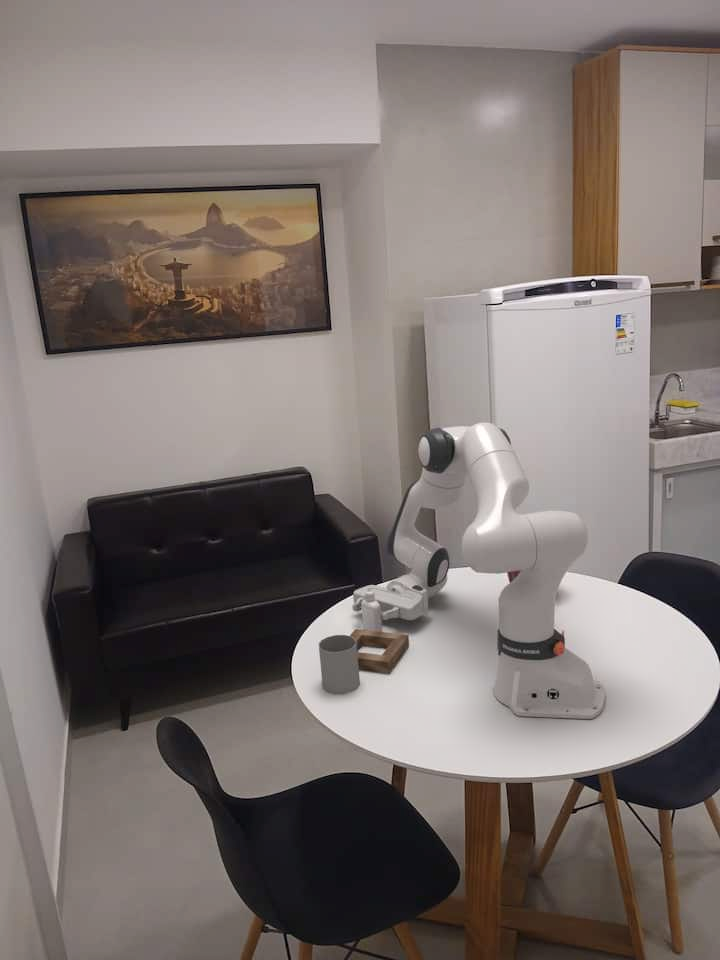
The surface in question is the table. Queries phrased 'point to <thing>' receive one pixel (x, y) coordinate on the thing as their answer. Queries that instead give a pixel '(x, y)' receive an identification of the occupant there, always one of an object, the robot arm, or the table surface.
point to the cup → (339, 664)
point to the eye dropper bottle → (371, 612)
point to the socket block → (388, 641)
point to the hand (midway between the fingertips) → (368, 612)
